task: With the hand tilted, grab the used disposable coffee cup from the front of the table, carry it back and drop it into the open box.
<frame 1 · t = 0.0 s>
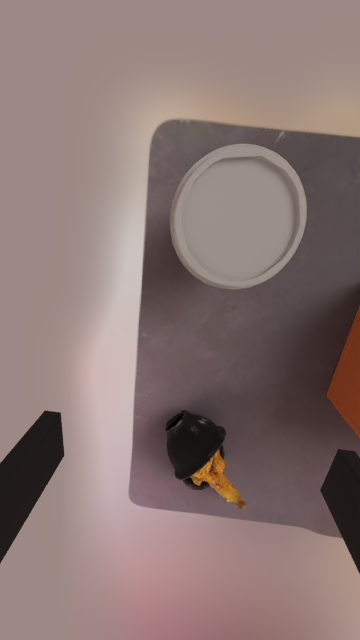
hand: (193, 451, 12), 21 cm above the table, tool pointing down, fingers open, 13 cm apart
disposable coffee cup: (221, 226, 28), on the table
fried shrimp in bowl: (208, 444, 39), on the table
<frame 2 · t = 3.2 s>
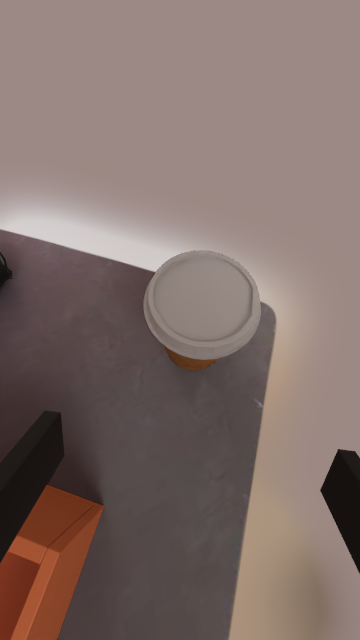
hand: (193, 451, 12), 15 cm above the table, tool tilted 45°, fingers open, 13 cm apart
disposable coffee cup: (192, 345, 30), on the table
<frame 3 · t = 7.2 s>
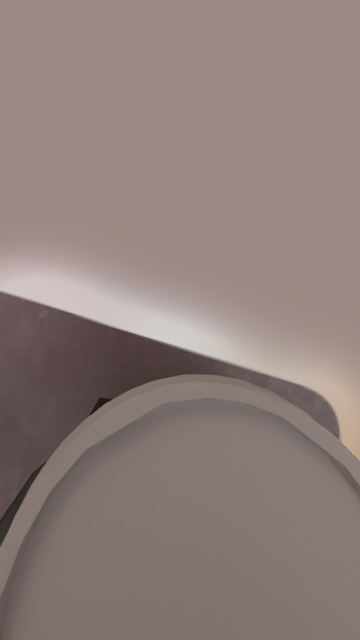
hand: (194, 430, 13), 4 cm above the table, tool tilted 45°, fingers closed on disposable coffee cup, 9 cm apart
disposable coffee cup: (183, 487, 15), on the table, touching gripper
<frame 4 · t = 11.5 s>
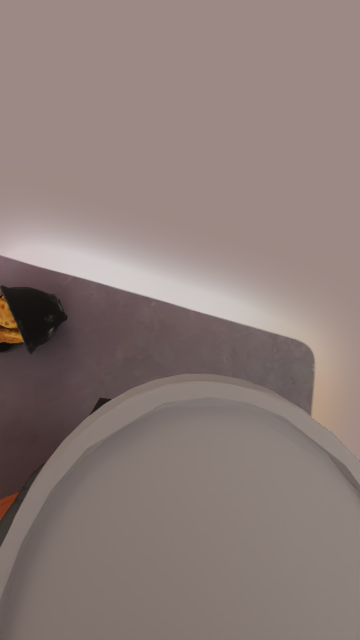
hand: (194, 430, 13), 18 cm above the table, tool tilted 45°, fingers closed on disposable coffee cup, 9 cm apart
disposable coffee cup: (184, 487, 15), point 14 cm above the table, touching gripper
fried shrimp in bowl: (7, 338, 34), on the table
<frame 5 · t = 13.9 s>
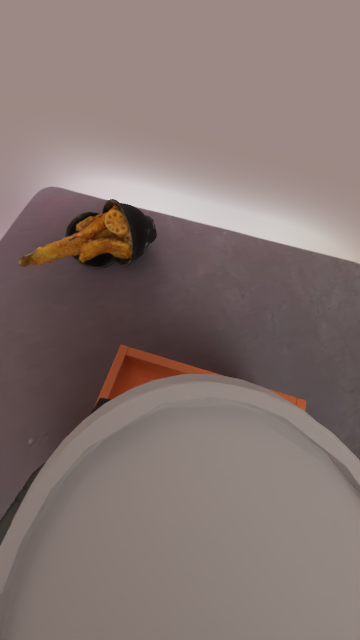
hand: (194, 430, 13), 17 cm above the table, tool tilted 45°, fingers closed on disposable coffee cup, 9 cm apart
disposable coffee cup: (183, 487, 15), point 13 cm above the table, touching gripper
open box: (179, 463, 27), on the table
fried shrimp in bowl: (99, 258, 38), on the table
when the fingers open (12 cm above the table, at t = 15.9 s): disposable coffee cup drops 5 cm, resting on open box.
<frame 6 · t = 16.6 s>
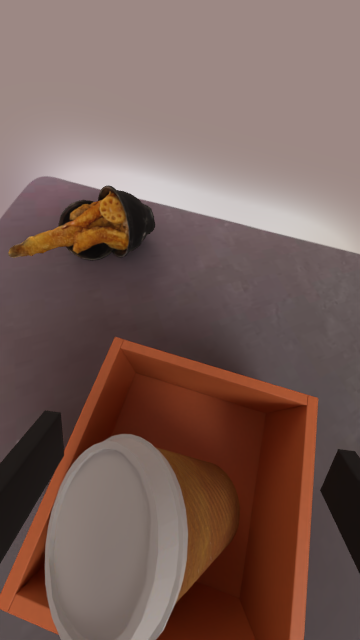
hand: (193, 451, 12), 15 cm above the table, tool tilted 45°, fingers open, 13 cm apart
disposable coffee cup: (207, 502, 22), point 3 cm above the table, touching open box
open box: (178, 466, 25), on the table
fried shrimp in bowl: (95, 250, 36), on the table
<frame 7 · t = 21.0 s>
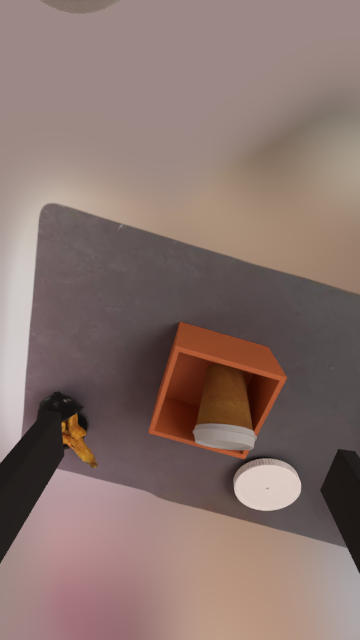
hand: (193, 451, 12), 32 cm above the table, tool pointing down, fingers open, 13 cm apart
plastic lid: (264, 476, 55), on the table
disposable coffee cup: (224, 368, 43), point 3 cm above the table, touching open box
open box: (209, 372, 47), on the table
fried shrimp in bowl: (79, 419, 53), on the table
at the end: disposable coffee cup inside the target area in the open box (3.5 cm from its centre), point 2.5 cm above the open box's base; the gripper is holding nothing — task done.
